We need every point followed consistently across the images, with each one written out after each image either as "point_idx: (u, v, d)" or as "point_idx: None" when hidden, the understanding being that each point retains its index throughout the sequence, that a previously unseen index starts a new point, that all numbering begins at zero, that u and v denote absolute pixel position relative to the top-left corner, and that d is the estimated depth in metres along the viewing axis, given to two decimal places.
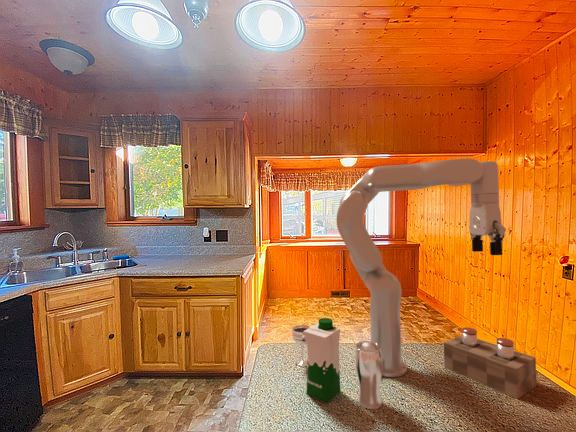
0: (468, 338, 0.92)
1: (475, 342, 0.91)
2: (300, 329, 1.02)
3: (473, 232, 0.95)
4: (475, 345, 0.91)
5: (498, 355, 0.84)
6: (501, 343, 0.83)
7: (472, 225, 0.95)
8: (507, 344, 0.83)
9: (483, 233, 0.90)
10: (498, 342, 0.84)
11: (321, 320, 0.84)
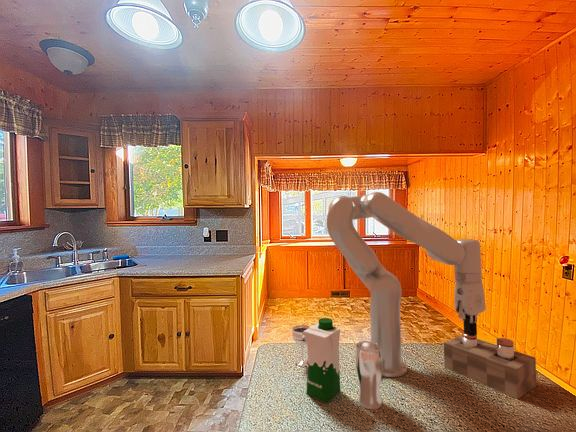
0: (468, 343, 0.92)
1: (475, 346, 0.91)
2: (300, 329, 1.02)
3: (475, 313, 0.90)
4: None
5: (498, 355, 0.84)
6: (501, 343, 0.83)
7: (474, 305, 0.90)
8: (507, 344, 0.83)
9: (484, 309, 0.92)
10: (498, 342, 0.84)
11: (321, 320, 0.84)
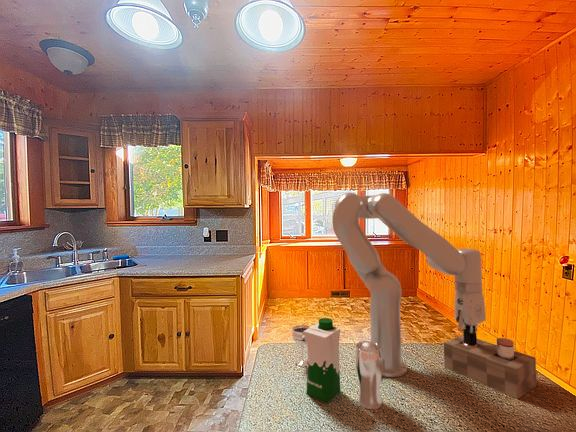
0: None
1: None
2: (300, 329, 1.02)
3: (475, 323, 0.90)
4: None
5: (498, 355, 0.84)
6: (501, 343, 0.83)
7: (474, 316, 0.89)
8: (507, 344, 0.83)
9: (484, 319, 0.92)
10: (498, 342, 0.84)
11: (321, 320, 0.84)
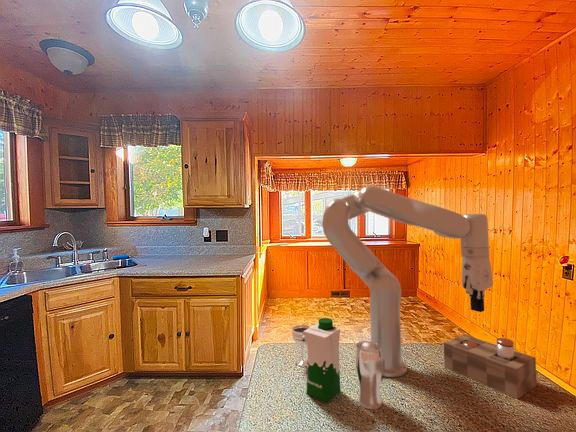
0: None
1: None
2: (300, 329, 1.02)
3: (483, 288, 0.88)
4: None
5: (498, 355, 0.84)
6: (501, 343, 0.83)
7: (481, 280, 0.88)
8: (507, 344, 0.83)
9: (491, 285, 0.91)
10: (498, 342, 0.84)
11: (321, 320, 0.84)
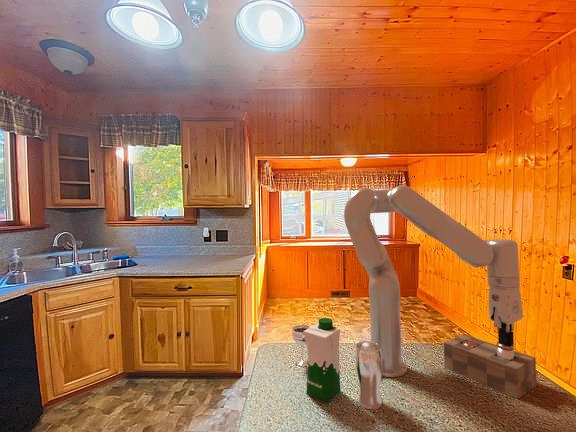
0: None
1: None
2: (300, 329, 1.02)
3: (513, 321, 0.81)
4: None
5: None
6: (501, 347, 0.83)
7: (511, 313, 0.81)
8: (507, 348, 0.82)
9: (521, 317, 0.84)
10: (498, 345, 0.84)
11: (321, 320, 0.84)
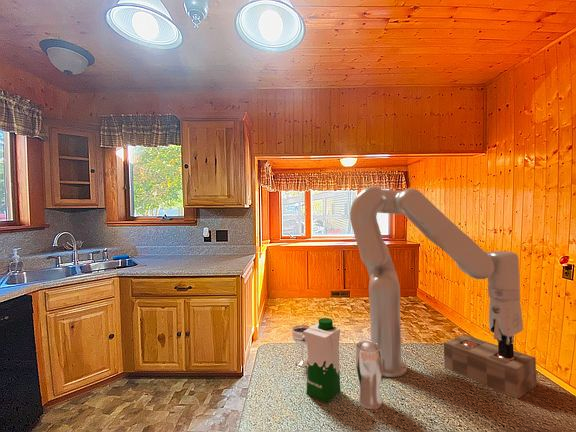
0: None
1: None
2: (300, 329, 1.02)
3: (513, 333, 0.81)
4: None
5: None
6: None
7: (512, 325, 0.81)
8: (508, 360, 0.82)
9: (521, 329, 0.84)
10: None
11: (321, 320, 0.84)
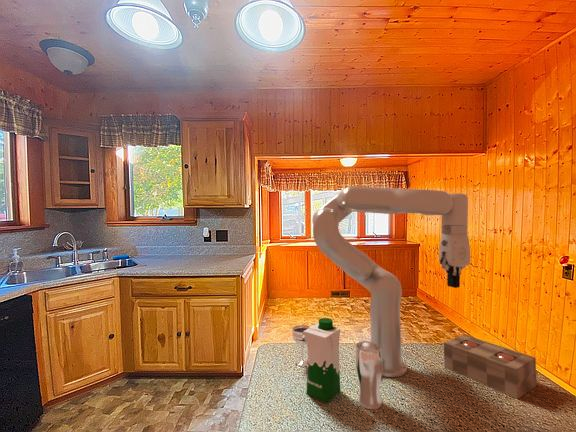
0: None
1: None
2: (300, 329, 1.02)
3: (458, 264, 0.91)
4: None
5: None
6: None
7: (457, 257, 0.91)
8: (508, 360, 0.82)
9: (468, 263, 0.94)
10: None
11: (321, 320, 0.84)
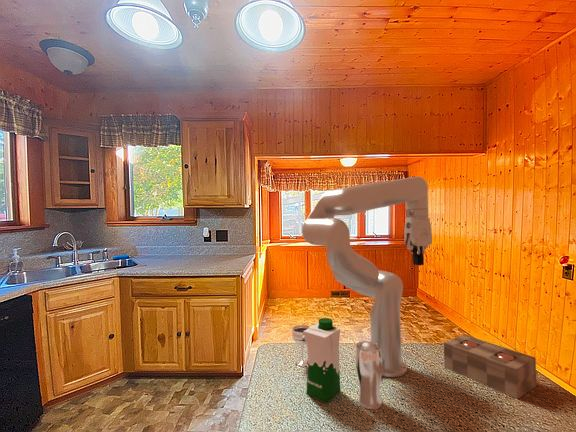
0: None
1: None
2: (300, 329, 1.02)
3: (421, 243, 1.01)
4: None
5: None
6: None
7: (420, 237, 1.01)
8: (508, 360, 0.82)
9: (430, 242, 1.04)
10: None
11: (321, 320, 0.84)
